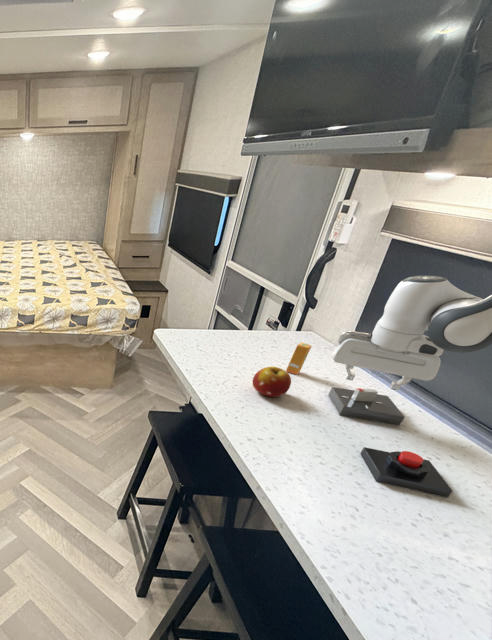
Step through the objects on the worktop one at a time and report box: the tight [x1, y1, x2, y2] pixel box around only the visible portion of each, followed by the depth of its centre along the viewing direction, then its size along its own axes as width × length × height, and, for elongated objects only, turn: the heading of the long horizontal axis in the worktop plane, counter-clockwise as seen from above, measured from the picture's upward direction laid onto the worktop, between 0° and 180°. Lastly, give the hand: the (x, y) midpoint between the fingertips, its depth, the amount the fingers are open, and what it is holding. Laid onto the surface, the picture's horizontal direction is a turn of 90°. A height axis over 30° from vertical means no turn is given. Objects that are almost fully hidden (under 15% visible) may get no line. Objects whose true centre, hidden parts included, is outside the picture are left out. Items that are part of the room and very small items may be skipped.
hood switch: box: [359, 446, 453, 499], centre depth 89 cm, size 12×10×4 cm
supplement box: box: [285, 342, 312, 376], centre depth 129 cm, size 3×3×10 cm
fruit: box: [252, 366, 292, 398], centre depth 118 cm, size 10×9×8 cm
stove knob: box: [351, 387, 379, 402], centre depth 110 cm, size 5×1×3 cm, turn 84°
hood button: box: [398, 450, 424, 468], centre depth 88 cm, size 4×4×2 cm
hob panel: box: [327, 386, 406, 427], centre depth 111 cm, size 13×11×3 cm
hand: (370, 383), depth 108 cm, fingers open, 8 cm apart
